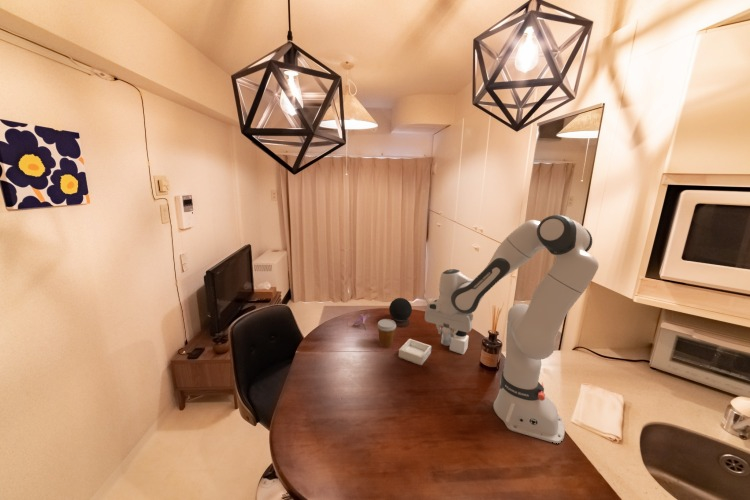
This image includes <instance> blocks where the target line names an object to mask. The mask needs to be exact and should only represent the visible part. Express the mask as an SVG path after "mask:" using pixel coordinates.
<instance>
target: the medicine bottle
mask: <svg viewBox="0 0 750 500" xmlns="http://www.w3.org/2000/svg"><path fill="white" fill-rule="evenodd" d="M453 332H455V331H454V330H453ZM469 339H470V337H469V335H468V333H467V332H463V331H460V330H458V331H457V333H456V336H455V338H453V337H452V341H451V345H449V349H448V350H449V351H451V352H454V353H457V354H460V355H465V353H466V351H467V349H468V347H469V346H468V345H469Z"/></svg>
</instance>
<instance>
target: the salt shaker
mask: <svg viewBox="0 0 750 500" xmlns="http://www.w3.org/2000/svg"><path fill="white" fill-rule="evenodd" d="M441 329H442V334H441V339H440V340H441V341H440V343H441V345H444V346H450V345H451V341H452V337H451V333H452V332H453V329H452V328H449V324H445V323H443V326H441Z"/></svg>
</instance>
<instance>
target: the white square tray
mask: <svg viewBox="0 0 750 500" xmlns="http://www.w3.org/2000/svg"><path fill="white" fill-rule="evenodd" d="M431 353H432V345H430V344H427V343H423V342H421V341H418V340H415V339H412V338H408V339H407V341H406V342H405V343H404V344H403V345H401V347H400V348H398V358H400V359H403V360H405V361H408V362H411V363H414V364H415V365H416V364H417V365H418V366H422V365H423V364H424V363H425V361H427V359H428V358H429V357H430V355H431Z"/></svg>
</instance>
